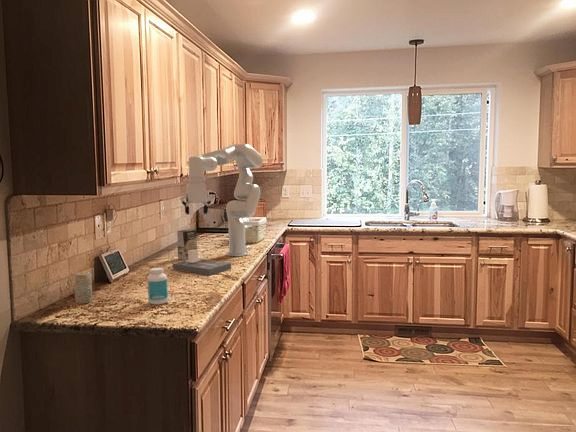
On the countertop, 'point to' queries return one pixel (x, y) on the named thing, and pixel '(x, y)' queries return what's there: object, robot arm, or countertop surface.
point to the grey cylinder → (83, 287)
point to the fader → (193, 256)
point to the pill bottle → (157, 287)
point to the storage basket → (254, 229)
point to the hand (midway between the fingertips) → (196, 213)
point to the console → (202, 267)
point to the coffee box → (186, 242)
